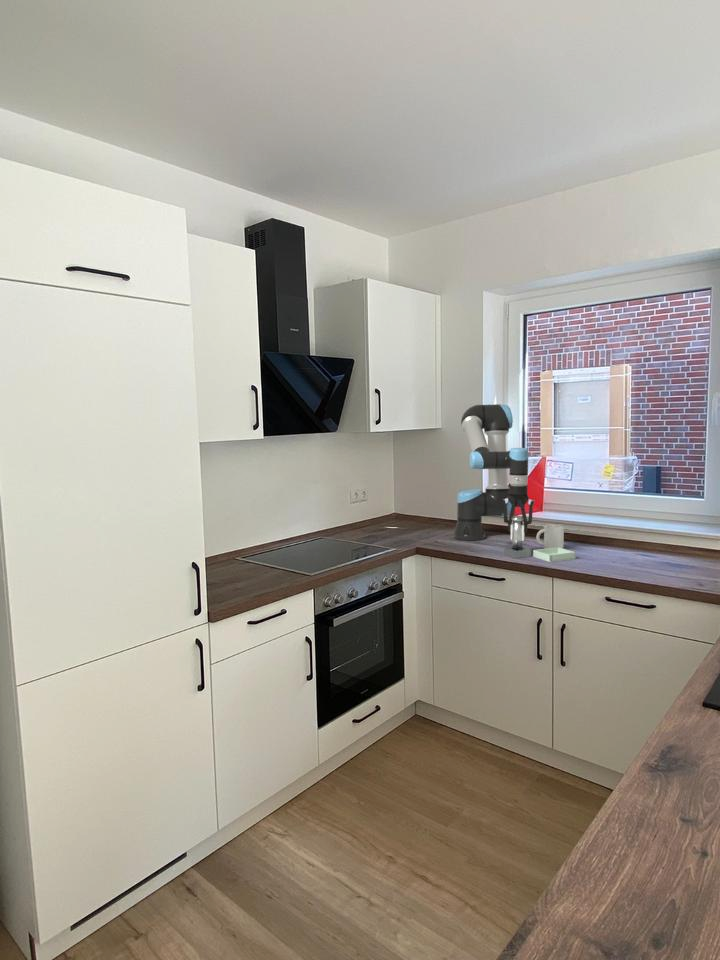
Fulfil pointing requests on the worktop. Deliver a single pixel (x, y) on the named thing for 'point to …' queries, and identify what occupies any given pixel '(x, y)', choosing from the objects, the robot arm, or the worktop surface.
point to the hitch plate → (517, 552)
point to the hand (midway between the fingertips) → (517, 539)
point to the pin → (517, 531)
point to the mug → (552, 536)
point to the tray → (554, 554)
